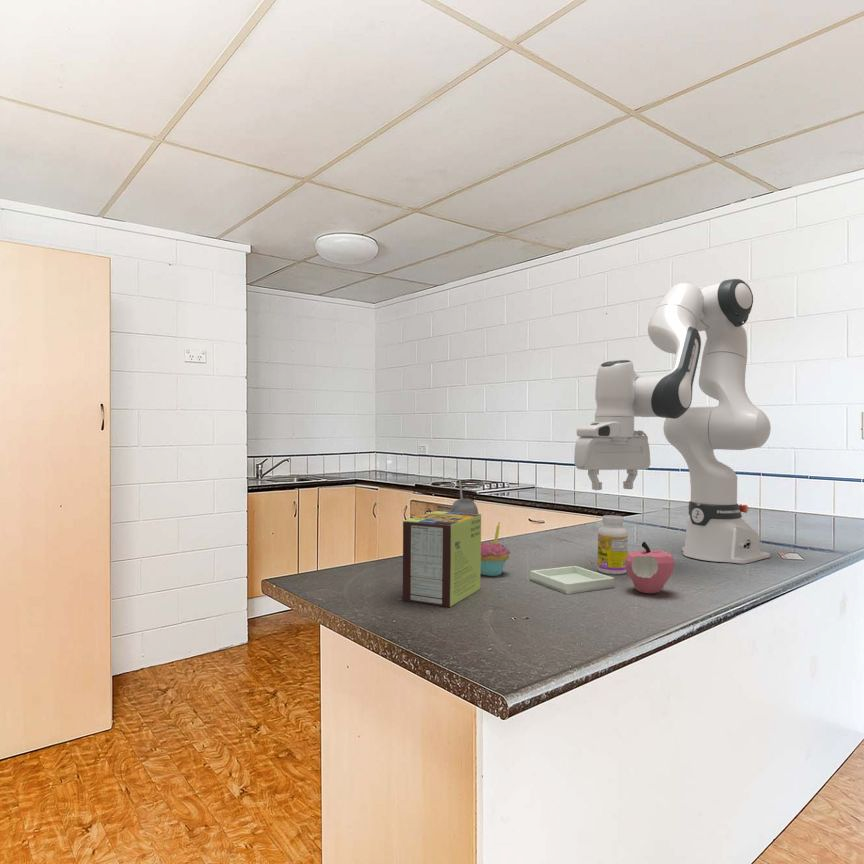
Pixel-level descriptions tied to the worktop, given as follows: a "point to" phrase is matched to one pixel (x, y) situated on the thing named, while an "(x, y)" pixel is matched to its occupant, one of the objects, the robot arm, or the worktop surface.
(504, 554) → the cupcake
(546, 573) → the tray
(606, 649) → the worktop surface
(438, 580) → the protein box
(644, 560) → the apple
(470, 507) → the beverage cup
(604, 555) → the supplement bottle
